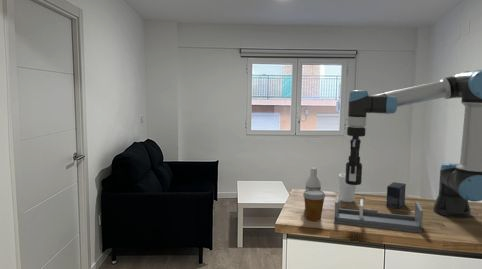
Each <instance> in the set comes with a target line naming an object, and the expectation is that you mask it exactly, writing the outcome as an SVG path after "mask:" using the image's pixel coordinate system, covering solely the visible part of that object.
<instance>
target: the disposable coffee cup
mask: <svg viewBox="0 0 482 269" xmlns="http://www.w3.org/2000/svg"><path fill="white" fill-rule="evenodd" d="M302 196H303V200H304V209H305V219H306V220H307V221H311V222H319V221H321V219H322V214H323V209H324V208H323V207H324V203H325V198H326V195H325V192H324V191H323V190H321V191H320V190H306V189H305V190H304V192H303V194H302Z"/></svg>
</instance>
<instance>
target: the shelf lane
mask: <svg viewBox="0 0 482 269" xmlns="http://www.w3.org/2000/svg"><path fill="white" fill-rule="evenodd" d="M340 200H341V198H340V194H336V197H335V201H334V218H333V220H334V221H333V222H334V224H341V225H349V226H350V225H351V226H357V227H358V226H360V227H369V228H375V229H376V228H378V229H386V230H396V231H404V232H412V233H421V234H422V233H423V218H424V210H423V208H422V206H421V204H420V202H419V201H415V202H414V203H415V204H414V215H407V214H405V215H404V214H399V213H397V214H395V213H387V212H386V213H385V212H378V213H371V212H363V219H359V215H360V210H358V209H357V210H356V209H348V208H347V209H346V208H340Z"/></svg>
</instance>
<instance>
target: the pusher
mask: <svg viewBox="0 0 482 269" xmlns="http://www.w3.org/2000/svg"><path fill="white" fill-rule="evenodd" d="M359 211H360V215H359V219H363V212H371V213H379V212H378V210H377V209H367V208H364V199H362V198H360V199H359Z"/></svg>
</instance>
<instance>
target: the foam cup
mask: <svg viewBox="0 0 482 269" xmlns="http://www.w3.org/2000/svg"><path fill="white" fill-rule="evenodd" d="M345 175H346V172H344V173H339V174H338V175H337V176H338V185H339V195H340V201H342V202H346V203H353V202H354V200H355V196H356V194H355V193H356V189H357V185H349V184H346V182H345Z"/></svg>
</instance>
